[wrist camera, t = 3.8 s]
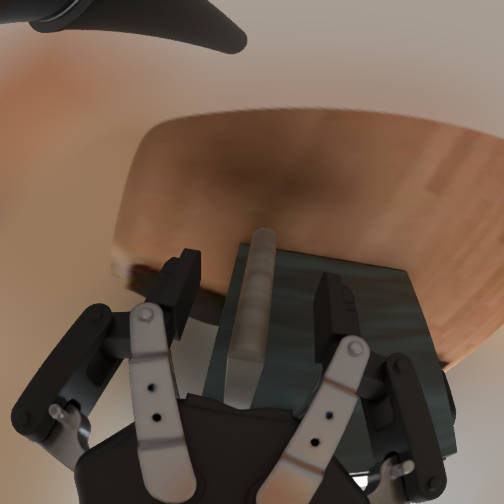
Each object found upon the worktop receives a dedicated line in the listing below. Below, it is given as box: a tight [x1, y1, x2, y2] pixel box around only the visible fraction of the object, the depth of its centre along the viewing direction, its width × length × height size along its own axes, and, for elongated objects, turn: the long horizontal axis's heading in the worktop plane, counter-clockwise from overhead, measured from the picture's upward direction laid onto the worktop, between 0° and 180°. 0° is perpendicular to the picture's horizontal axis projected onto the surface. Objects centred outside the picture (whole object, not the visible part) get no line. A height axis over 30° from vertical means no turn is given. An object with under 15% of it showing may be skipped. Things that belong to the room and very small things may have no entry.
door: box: [202, 227, 457, 475], centre depth 16 cm, size 8×17×19 cm, turn 83°
